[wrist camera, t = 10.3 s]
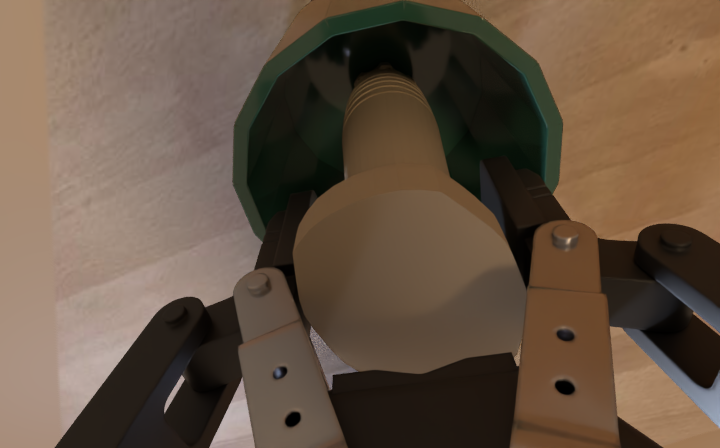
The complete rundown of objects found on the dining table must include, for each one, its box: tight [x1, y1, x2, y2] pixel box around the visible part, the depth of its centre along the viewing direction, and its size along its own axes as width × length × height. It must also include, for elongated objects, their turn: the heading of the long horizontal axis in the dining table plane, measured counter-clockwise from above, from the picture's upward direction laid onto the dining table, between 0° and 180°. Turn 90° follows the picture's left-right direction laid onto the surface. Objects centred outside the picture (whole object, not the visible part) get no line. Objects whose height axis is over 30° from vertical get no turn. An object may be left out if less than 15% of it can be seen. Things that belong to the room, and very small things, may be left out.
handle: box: [293, 62, 527, 374], centre depth 16 cm, size 5×6×15 cm
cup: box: [232, 0, 563, 242], centre depth 19 cm, size 11×11×10 cm
